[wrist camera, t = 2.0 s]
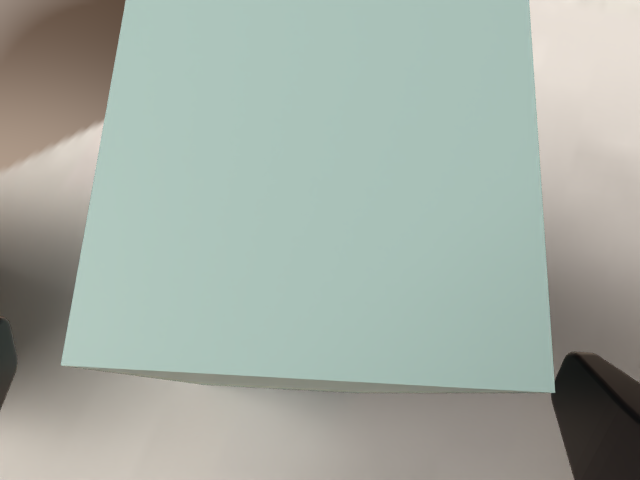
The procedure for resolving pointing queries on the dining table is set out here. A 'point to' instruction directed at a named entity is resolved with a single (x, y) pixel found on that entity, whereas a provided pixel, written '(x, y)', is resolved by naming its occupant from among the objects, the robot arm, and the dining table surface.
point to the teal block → (319, 200)
